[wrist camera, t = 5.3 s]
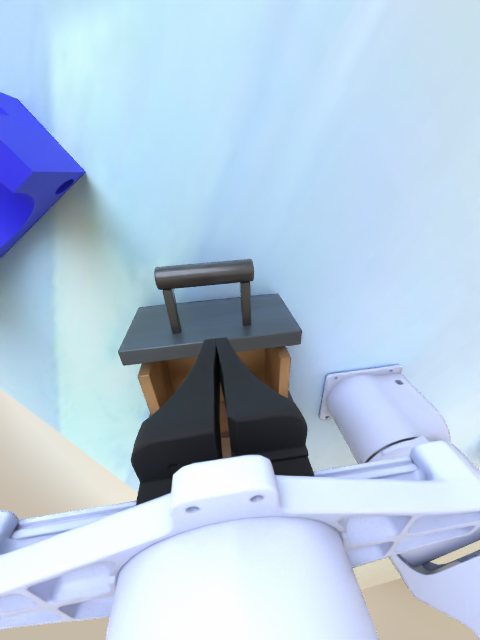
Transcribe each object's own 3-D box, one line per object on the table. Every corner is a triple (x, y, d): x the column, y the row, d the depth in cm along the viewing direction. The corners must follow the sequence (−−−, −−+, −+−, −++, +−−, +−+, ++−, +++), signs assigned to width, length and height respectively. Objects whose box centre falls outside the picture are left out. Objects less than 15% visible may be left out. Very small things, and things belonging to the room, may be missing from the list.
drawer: (122, 251, 19) (91, 283, 13) (280, 239, 20) (309, 263, 14) (167, 405, 27) (159, 461, 22) (274, 390, 28) (291, 440, 23)
